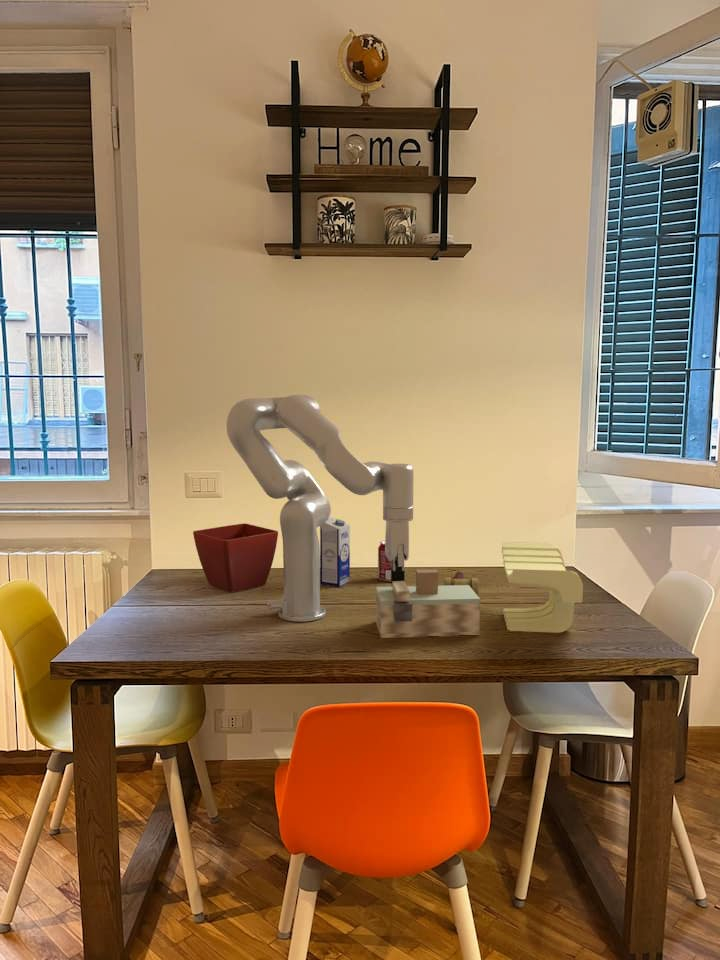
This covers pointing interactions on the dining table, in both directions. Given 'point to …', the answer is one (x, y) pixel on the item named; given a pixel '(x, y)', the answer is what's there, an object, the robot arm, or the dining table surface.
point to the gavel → (462, 581)
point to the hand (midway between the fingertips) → (397, 585)
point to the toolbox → (427, 619)
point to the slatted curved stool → (543, 570)
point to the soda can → (383, 564)
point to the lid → (431, 592)
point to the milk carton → (334, 553)
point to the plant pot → (236, 555)
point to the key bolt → (400, 591)
